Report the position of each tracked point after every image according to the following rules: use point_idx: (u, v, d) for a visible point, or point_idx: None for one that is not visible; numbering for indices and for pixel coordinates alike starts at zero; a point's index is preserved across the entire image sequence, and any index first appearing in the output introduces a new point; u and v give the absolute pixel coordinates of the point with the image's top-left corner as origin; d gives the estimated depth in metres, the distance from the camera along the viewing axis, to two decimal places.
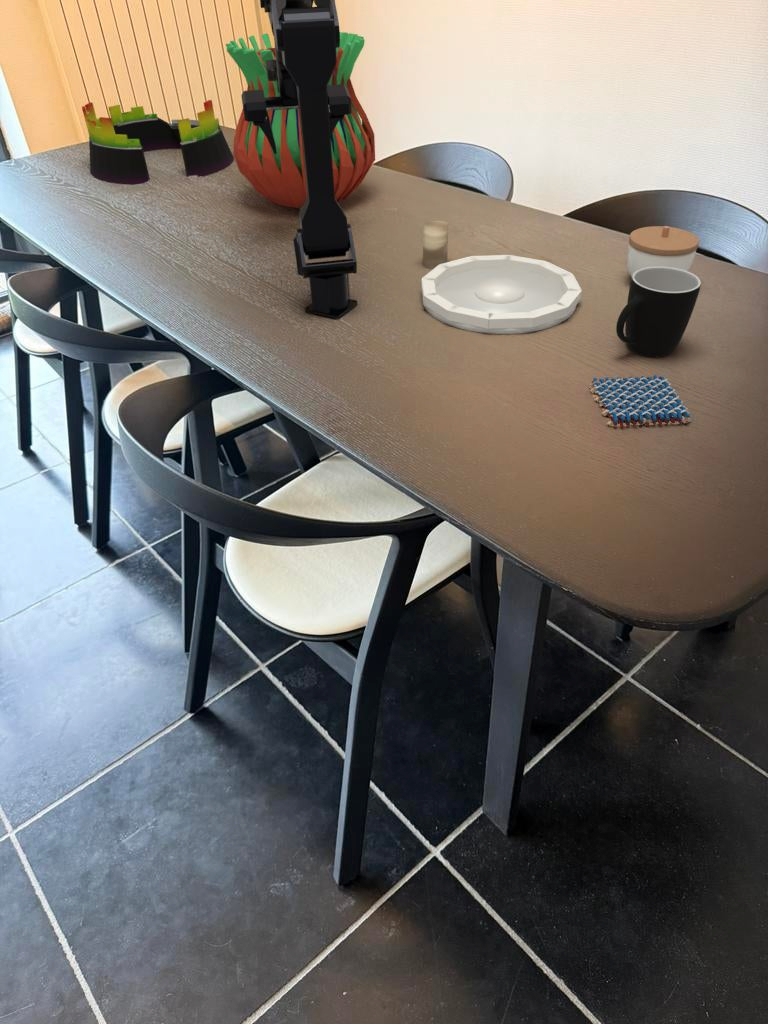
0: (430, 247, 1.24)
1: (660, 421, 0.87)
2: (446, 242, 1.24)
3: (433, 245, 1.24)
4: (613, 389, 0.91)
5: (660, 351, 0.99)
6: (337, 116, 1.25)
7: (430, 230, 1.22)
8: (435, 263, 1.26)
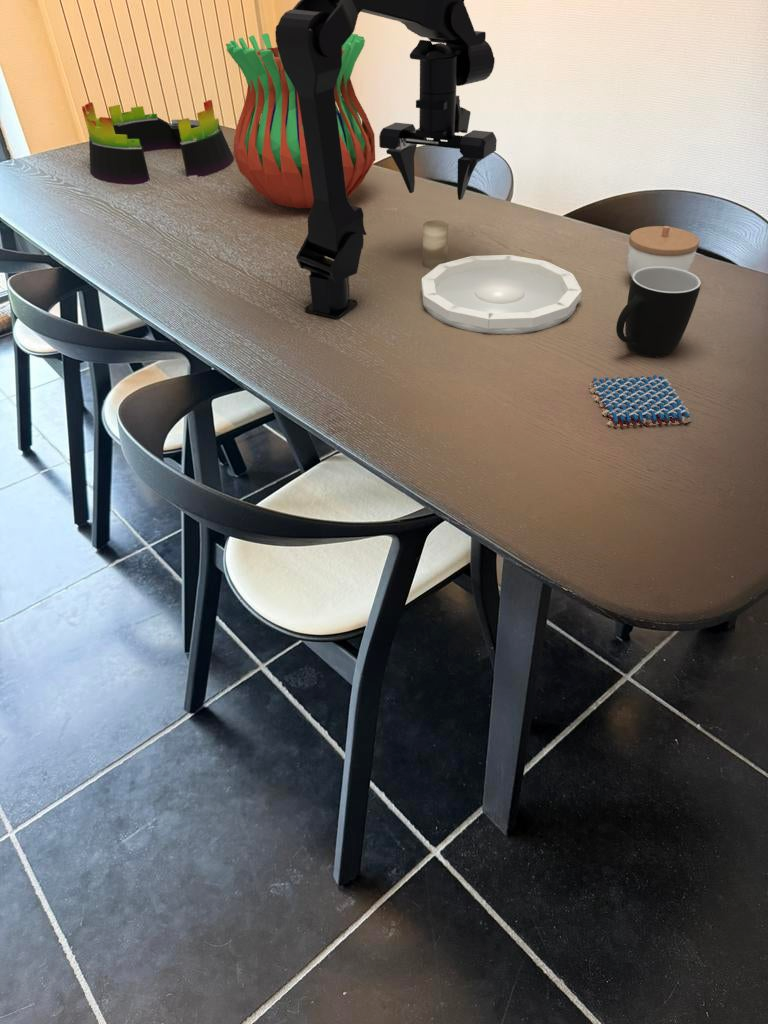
0: (430, 247, 1.24)
1: (660, 421, 0.87)
2: (446, 242, 1.24)
3: (433, 245, 1.24)
4: (613, 389, 0.91)
5: (660, 351, 0.99)
6: (468, 159, 1.12)
7: (430, 230, 1.22)
8: (435, 263, 1.26)
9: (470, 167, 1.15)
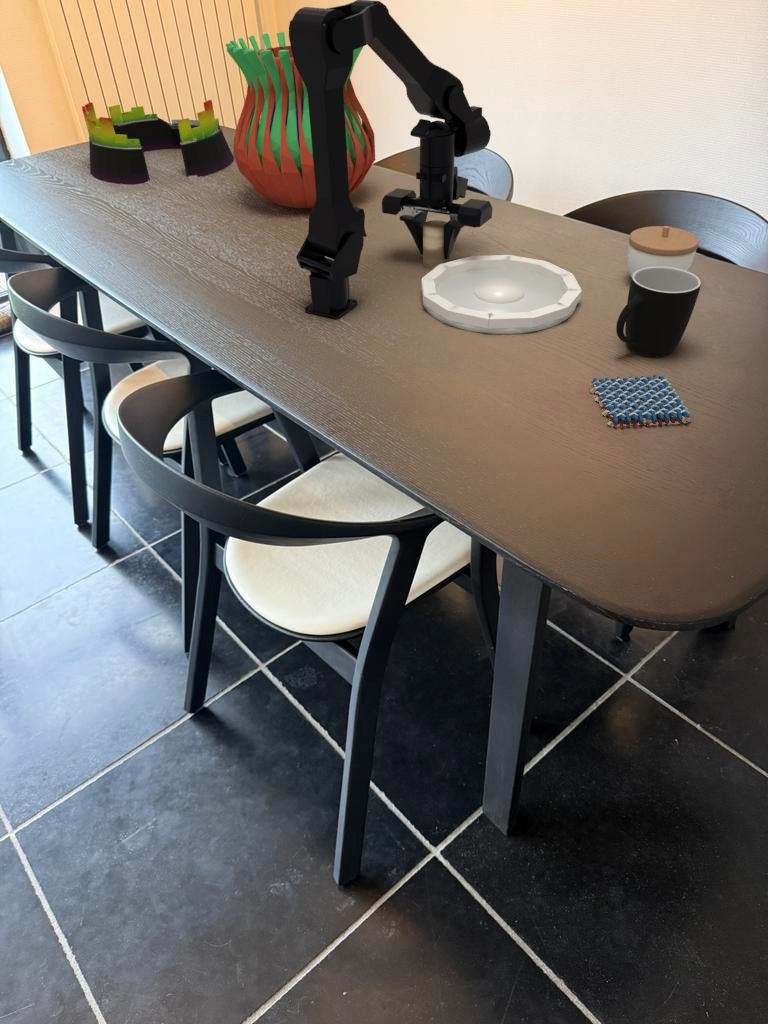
0: (430, 247, 1.24)
1: (660, 421, 0.87)
2: None
3: (433, 245, 1.24)
4: (613, 389, 0.91)
5: (660, 351, 0.99)
6: (453, 225, 1.19)
7: (430, 230, 1.22)
8: (435, 263, 1.26)
9: (456, 230, 1.23)
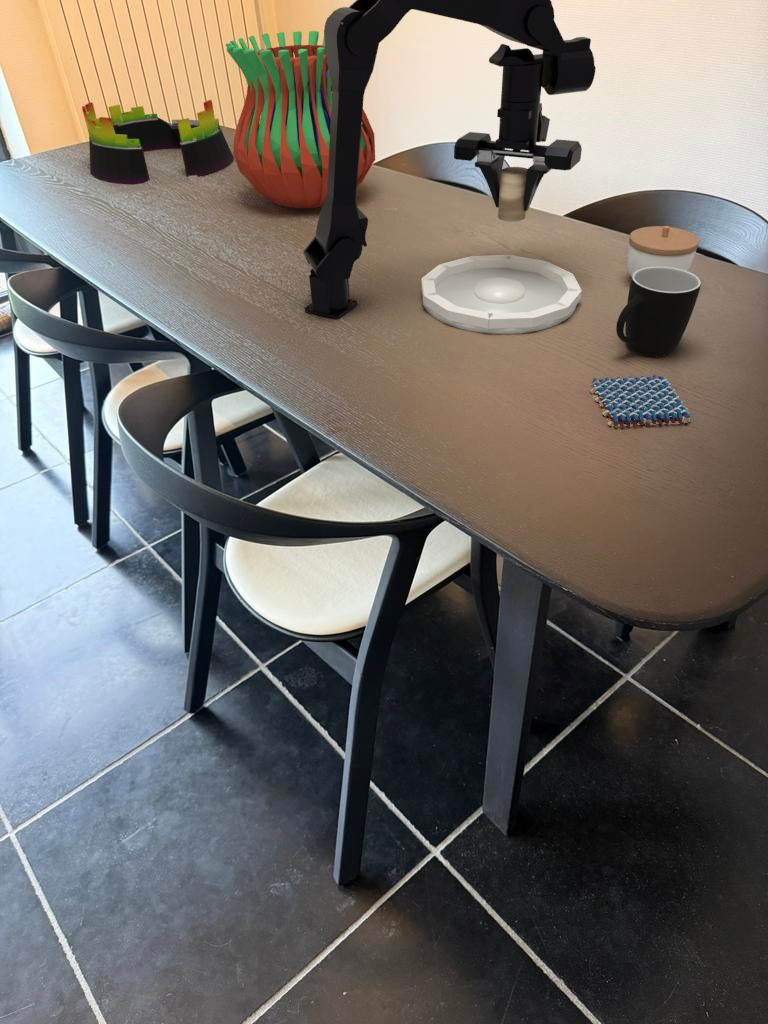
0: (509, 197, 1.11)
1: (660, 421, 0.87)
2: None
3: (512, 193, 1.11)
4: (613, 389, 0.91)
5: (660, 351, 0.99)
6: (538, 169, 1.06)
7: (510, 177, 1.09)
8: (513, 214, 1.13)
9: (538, 177, 1.10)
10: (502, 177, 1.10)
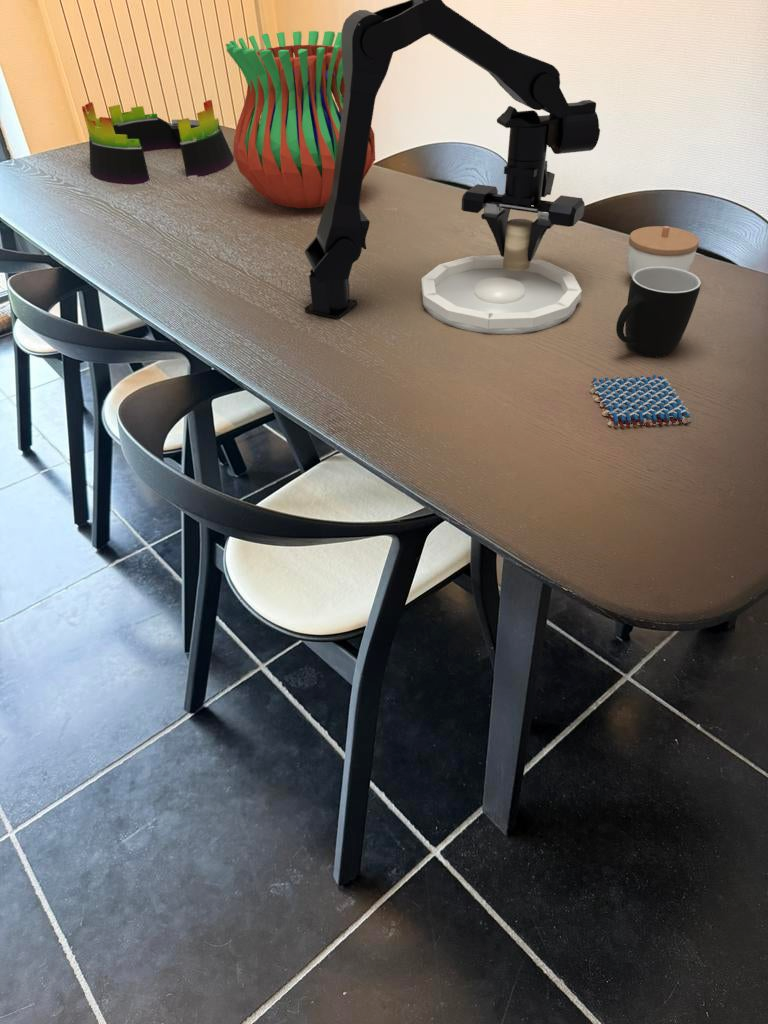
0: (514, 248, 1.15)
1: (660, 421, 0.87)
2: None
3: (517, 245, 1.14)
4: (613, 389, 0.91)
5: (660, 351, 0.99)
6: (542, 224, 1.10)
7: (516, 230, 1.13)
8: (518, 264, 1.16)
9: (542, 230, 1.14)
10: (508, 229, 1.14)
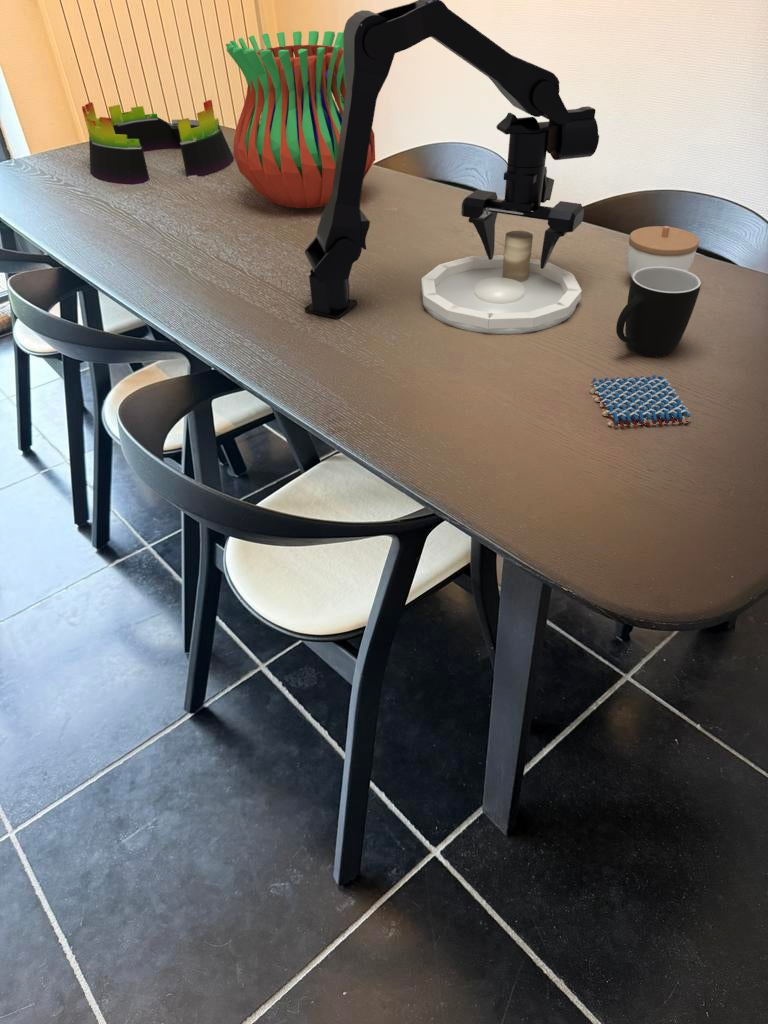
0: (513, 259, 1.16)
1: (660, 421, 0.87)
2: (530, 254, 1.17)
3: (516, 257, 1.16)
4: (613, 389, 0.91)
5: (660, 351, 0.99)
6: (555, 232, 1.10)
7: (515, 242, 1.14)
8: (517, 276, 1.18)
9: None
10: (507, 241, 1.15)
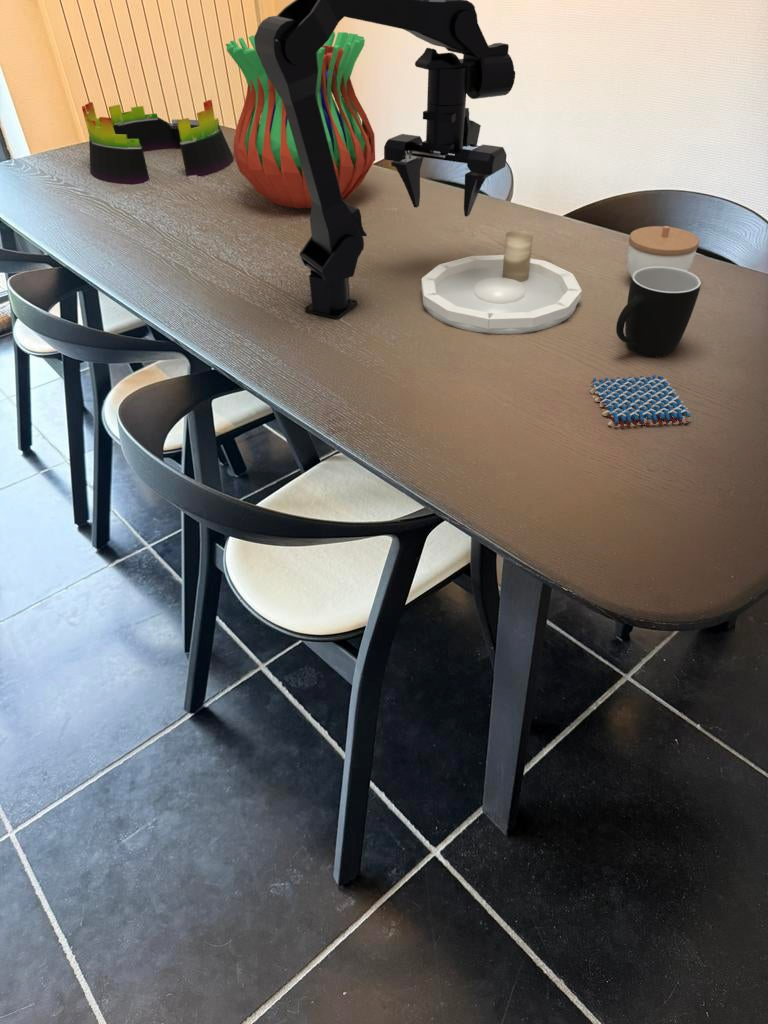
0: (513, 259, 1.16)
1: (661, 421, 0.87)
2: (530, 254, 1.17)
3: (516, 257, 1.16)
4: (613, 389, 0.91)
5: (660, 351, 0.99)
6: (475, 175, 1.06)
7: (515, 242, 1.14)
8: (517, 276, 1.18)
9: (478, 183, 1.10)
10: (507, 241, 1.15)
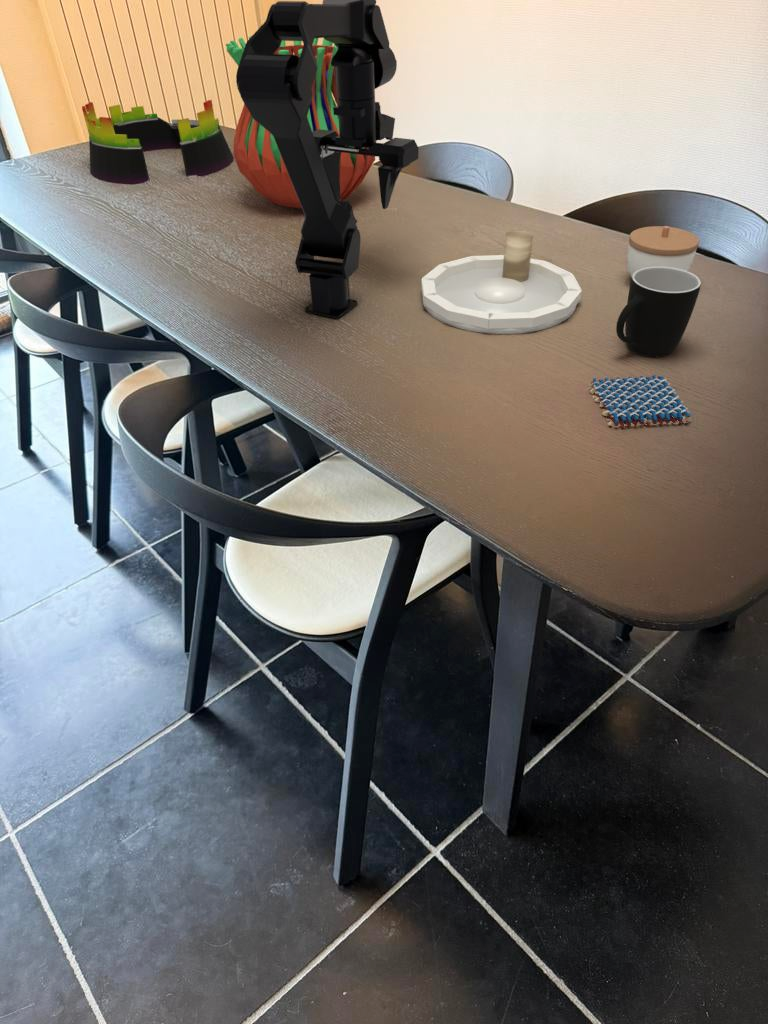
0: (513, 259, 1.16)
1: (661, 421, 0.87)
2: (530, 254, 1.17)
3: (516, 257, 1.16)
4: (613, 389, 0.91)
5: (660, 351, 0.99)
6: (388, 168, 1.08)
7: (515, 242, 1.14)
8: (517, 276, 1.18)
9: (393, 175, 1.12)
10: (507, 241, 1.15)
